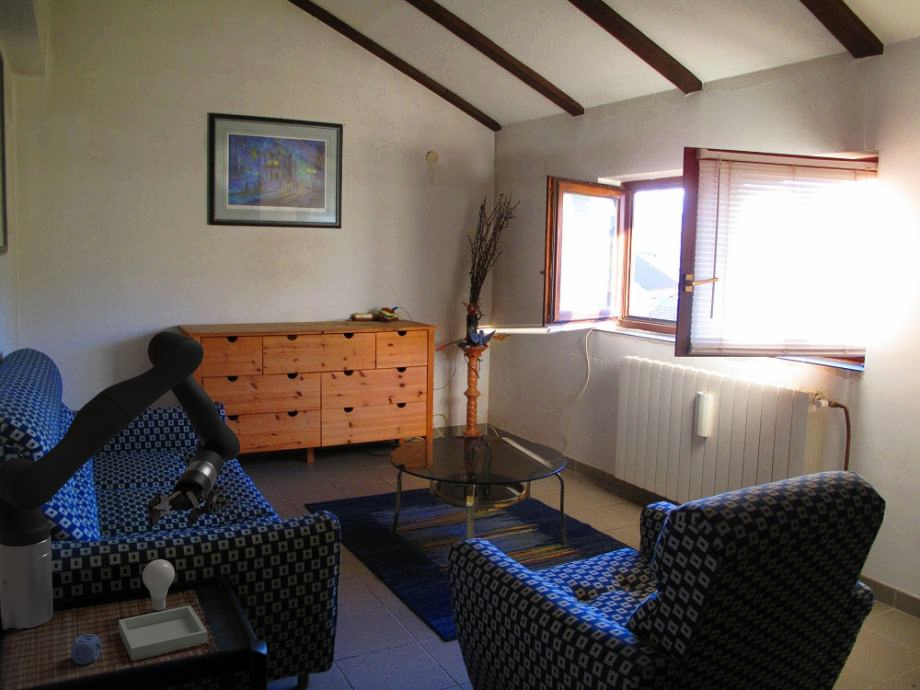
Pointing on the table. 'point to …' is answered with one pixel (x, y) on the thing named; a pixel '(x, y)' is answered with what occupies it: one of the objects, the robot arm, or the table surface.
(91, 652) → the decorative dice
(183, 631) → the parts tray
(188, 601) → the table surface
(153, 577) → the lightbulb
